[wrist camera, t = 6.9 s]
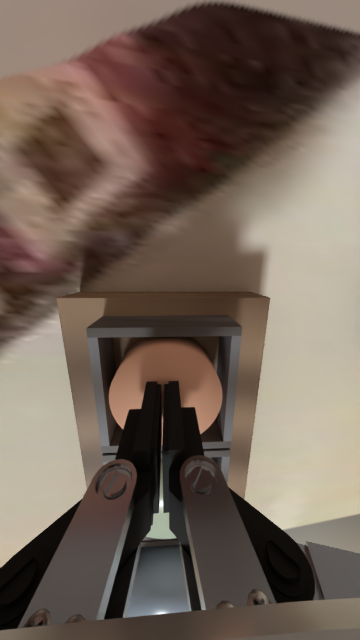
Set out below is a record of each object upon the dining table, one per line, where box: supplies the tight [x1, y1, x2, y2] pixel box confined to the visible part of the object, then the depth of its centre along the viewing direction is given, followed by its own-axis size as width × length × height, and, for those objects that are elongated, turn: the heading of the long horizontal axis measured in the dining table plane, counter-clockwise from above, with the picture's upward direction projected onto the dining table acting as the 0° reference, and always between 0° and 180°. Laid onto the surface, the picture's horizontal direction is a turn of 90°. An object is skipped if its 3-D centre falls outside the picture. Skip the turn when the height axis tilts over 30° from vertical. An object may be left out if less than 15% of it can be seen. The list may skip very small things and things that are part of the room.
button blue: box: [127, 545, 189, 617], centre depth 14 cm, size 6×6×2 cm
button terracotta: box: [109, 337, 222, 437], centre depth 11 cm, size 6×6×2 cm
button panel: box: [57, 292, 270, 549], centre depth 15 cm, size 26×13×6 cm, turn 0°
